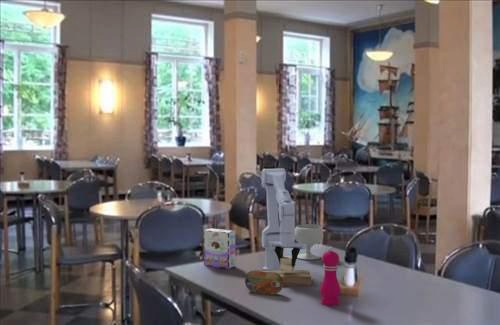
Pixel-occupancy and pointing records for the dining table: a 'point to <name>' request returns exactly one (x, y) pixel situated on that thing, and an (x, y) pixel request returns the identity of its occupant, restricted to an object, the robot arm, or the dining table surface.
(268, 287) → the tin
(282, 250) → the robot arm
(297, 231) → the chalice
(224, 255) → the candy box
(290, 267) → the birch cube
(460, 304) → the dining table surface
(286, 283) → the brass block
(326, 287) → the pepper mill
